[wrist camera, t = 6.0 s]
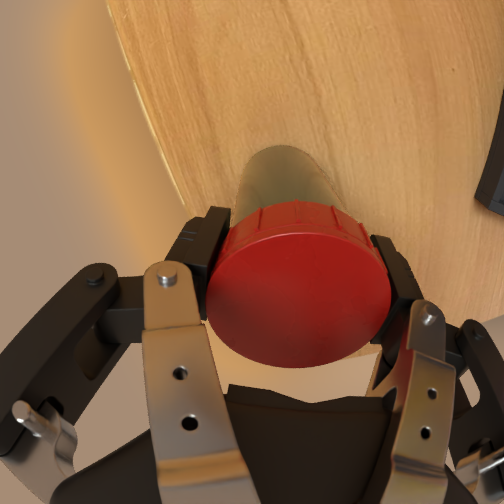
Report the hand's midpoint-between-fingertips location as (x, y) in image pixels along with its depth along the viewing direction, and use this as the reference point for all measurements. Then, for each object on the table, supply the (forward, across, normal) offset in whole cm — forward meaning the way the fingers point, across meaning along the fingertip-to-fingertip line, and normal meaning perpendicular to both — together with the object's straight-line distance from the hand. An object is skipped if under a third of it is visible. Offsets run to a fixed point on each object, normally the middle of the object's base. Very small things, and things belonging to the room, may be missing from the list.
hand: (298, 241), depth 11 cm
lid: (-3, 0, 0) cm, 3 cm away
